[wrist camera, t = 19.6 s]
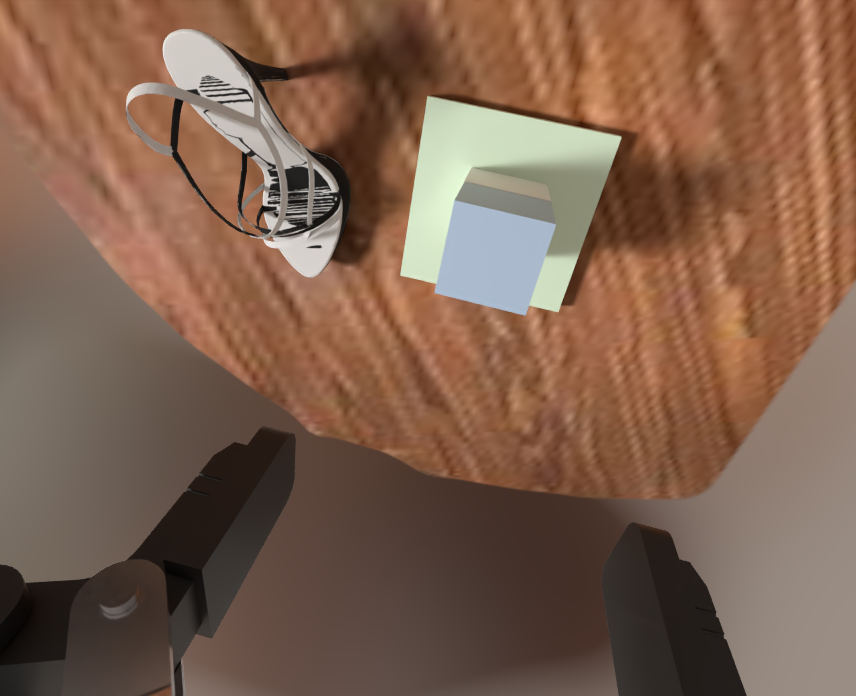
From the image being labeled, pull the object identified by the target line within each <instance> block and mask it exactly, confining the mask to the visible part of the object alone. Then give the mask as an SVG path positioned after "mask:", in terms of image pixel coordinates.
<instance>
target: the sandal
mask: <svg viewBox="0 0 856 696" xmlns="http://www.w3.org/2000/svg"><path fill="white" fill-rule="evenodd" d="M163 57H164V60H165V63H166V66H167V69H168V71H169V73H170V75H171V77H172V79H173V80H174V82H175V84H176V85H177V87H178V88H177V87H174V86H171V85H167V84H161V83H143V84H140V85H137V86H135V87H134V88H132V90H131V91H130V92H129V94H128V97H127V104H126V116H127V120H128V122H129V125H130V126H131V128H132V130H133V131H134V132H135V133H136V134H137V135H138V136H139V137H140V138H141V139H142V140H143V141H144V142H145V143H146V144H147V145H148V146H150V147H151V148H152V149H154V150H155V151H156V152H159V153H161V154H164V155H167V156H173V158H174V159H175V161H176V162H177V164H178V165H179V167H180V168H181V170H182V172H183V173H184V175H185V176H186V178H187V179H188V180H189V182H190V183H191V185H192V186H193V188H194V189H195V191H196V192H197V194H198V195H199V196H200V197H201V198H202V200H203V201H204V202H205V203H206V204H207V206H208V207H209V208H210V209H211V210H212V211H213V212H214V213H215V214H216V215H217V216H219V217H220V218H221V219H222V220H223V221H224V222H226V223H227V224H228V225H229V226H231V227H233V228H234V229H236V230H237V231H239V232H242V233H244V234H247V235H249V236H251V237H255V236H256V237H255V238H259V237H260V239H263V240H264V242H265V244H266V245H267V246H269V247H272V248H279V249H280V251H281V252H282V254H283V255H284V257H285V258H286V259H287V260H288V262H289V263H290V264H291V265H292V266H293V267H294V268H295V269H296V270H297V271H298V272H300V273H301V274H302V275H304V276H306V277H310V278H311V277H315V276H317V275H319V274H320V273H321V272H322V271H323V270H324V269H325V267H326V266H327V265H328V263H329V261H330V260H331V258H332V256H333V254H334V253H335V251H336V249H337V246H338V244H339V242H340V240H341V237H342V234H343V232H344V229H345V225H346V222H347V218H348V214H349V209H350V202H351V190H350V184H349V180H348V177H347V175H346V173H345V171H344V169H343V168H342V166H341V165H340V164H339V163H338V162H337V161H335V160H334V159H333V158H331V157H329V156H327V155H324V154H321V153H317V152H314V151H312V150H310V149H308V148H306V147H305V146H303V145H302V144H301V143H300V142H298V141H297V140H296V139H295V138H294V137H293V136H292V135H291V134H290V133H289V131H288V130H287V129H286V128H285V126H284V125H283V124H282V122H281V121H280V119H279V118H278V116H277V115H276V113H275V111H274V110H273V108H272V106H271V104H270V102H269V100H268V98H267V95H266V93H265V89H264V87H263V86H262V85H261V83H260V82H264V81H284V80H288V78H287V73H286V71H285V70H284V69H282V68H276V67H271V66H266V65H262V64H258V63H255V62H252V61H250V60H248V59H246V58H244V57H242V56H241V55H240V54H238V53H237V52H236V51H234V50H233V49H231V48H230V47H228V46H226V45H224V44H223V43H221V42H220V41H218V40H217V39H215V38H214V37H212V36H211V35H209V34H207V33H204V32H202V31H199V30H193V29H181V30H177V31H174V32H172V33H171V34H169V35H168V36H167V37H166V39H165V41H164V43H163ZM143 94H162V95H166V96H170V97H174V98H175V102H174V108H173V115H172V127H171V146H165V145H162V144H160V143H158V142H155V141H154V140H153V139H152V138H151V137H150V136H148V135H147V134H146V133H145V132H144V131H143V130H142V129H141V128H140V127H139V126H138V125H137V124H136V123H135V121H134V120H133V119H132V117H131V115H130V114H129V111H128V107H127V105H128V104H129V102H130V101H131V100H132V99H133V98H134V97H136V96H139V95H143ZM183 101H186V102H188V103H190V104H191V105H192V107H193V108H194V109H195V110H196V111H197V112H198V113H199V114H200V115H201V116H202V117H203V118H204V119H205V120H206V121H207V122H208V123H209V124H210V125H211V126H212V127H213V128H214V129H216V130H217V131H218V132H219V133H220V134H222V135H223V136H224V137H225V138H226V139H228V140H229V141H230V142H231V143H233V144H234V145H235V146H236V147H238V148H239V149H240V150H242V169H241V180H240V187H239V194H238V210H239V213H238V223H239V226H240V228H241V229H242V230H241V229H239V228H237V227H236V226H234V225H233V224H231V223H230V222H229V221H227V220H226V219H225V218H224V217H223V216H222V215H221V214H220V213H219V212H217V211H216V210H215V209H214V207H213V206H212V205H211V204H210V203H209V202H208V201H207V199H206V198H205V197H204V195H203V194H202V192H201V191H200V189H199V188H198V186H197V185H196V183H195V182H194V180H193V178H192V176H191V175H190V173H189V171H188V170H187V168H186V166H185V164H184V163H183V161H182V159H181V157H180V156H179V154H178V152H177V145H178V131H179V120H180V113H181V108H182V104H183ZM247 155H248V156H249V157H251V158H252V159H253V160H254V161H255V162H256V163H257V164H258V165H259V166H260V167H261V169H262V171H263V173H264V177H265V182H264V183H263V184H261V185H260V186H259V187H258V188H257V189H255V190H254V191H253V192H252V193H251V194H250V195H249V196H248V197H247V199H246V200H245V201H244V203H243V204H242V197H243V192H244V186H245V179H246V173H247ZM262 189H264V193H263V205H262V207H261V208H260V210H259V213H258V215H257V225H258V226H255V225H253V224H251V223H249V222H248V221H247V219H246V218H245V216H244V214H243V210H244V208H245V207H246V205H247V204H248V203H249V201H250V200H251V199H252V198H253V197H254V196H255V195H256V194H257V193H259V192H260V191H261V190H262ZM263 211H264V216H265V220H266V223H267V226H268V228H267V229H265V228H261V227H259V220H260V217H261V215H262V213H263ZM241 216H242V217H243V218H244V219H245V220H246V221H247V222H248V223H249V224H251V225H252V226H253V227H255V228H256V229H259V230H260V231H261V232H262V233H263V235H262V236H260V235H255V234H252V233H248V232H246V231H245V230H244V228H243V227H242V225H241ZM271 236H272V237H271ZM267 238H273V239H274V241H275V242H273V241H268V240H266V239H267Z"/></svg>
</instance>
